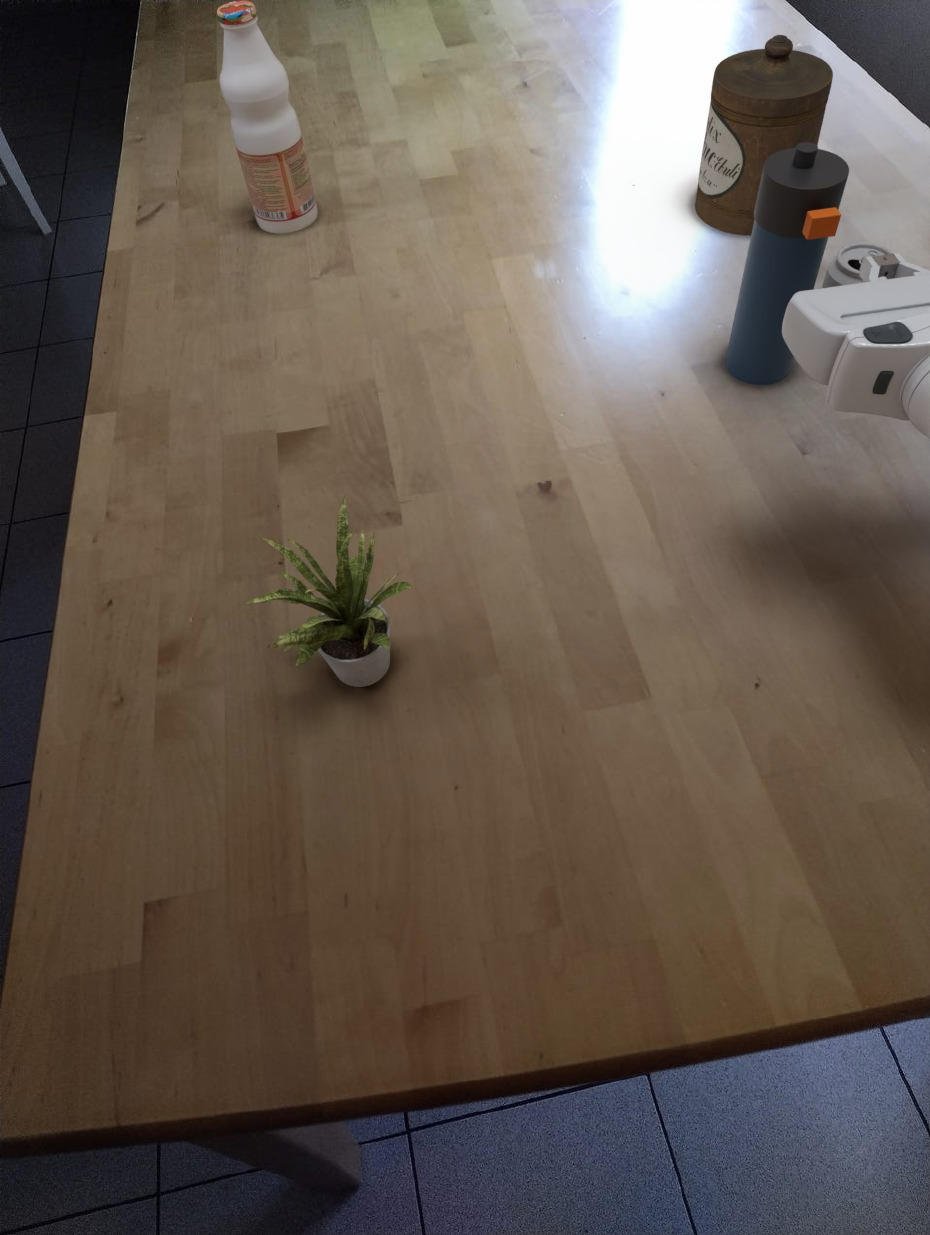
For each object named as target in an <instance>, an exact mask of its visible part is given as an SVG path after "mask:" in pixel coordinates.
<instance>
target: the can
mask: <svg viewBox="0 0 930 1235" xmlns="http://www.w3.org/2000/svg"><path fill="white" fill-rule="evenodd" d="M892 253H893V252H892V250H891V249H888V247H885V246H883V245H880V244H877V243H871V242H855V243H850V244H848V245H846V246H842V248H841V249H839V251H838V252H837V255H836V256H834V257H833V258H832V259H830V261H829V262H828V265H827V269H826V272H825V275H824V279H823V283H822V285H821V288H828V287H836V286H843V285H850V284H857V283H864V281H863V280H862V279H861V277H860V274H859V270H860V267H861V264H862V261H863V259H864V258H865V257H870V256H879V255H887V254H892Z"/></svg>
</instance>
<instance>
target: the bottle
mask: <svg viewBox="0 0 930 1235" xmlns="http://www.w3.org/2000/svg"><path fill="white" fill-rule="evenodd" d="M849 174H850V167H849V164H848V163H847V162H846V160H845V159H844V158H842V157H841V156H839V155H838V154H836V153H834V152H831V151H829V150H826V149H821V148H819V146H817V145H816V144H814V143H811V142H802V143H799V144H798V145H797V147H796V148H791V149H785V150H782V151H779V152H776V153H774V154H773V155H771V156H770V157H769V158H768V159H767V160H766V161H765V163H764V167H763V171H762V176H761V181H760V186H759V191H758V196H757V201H756V205H755V210H754V219H755V220H754V225H753V230H752V234H751V235H750V240H749V245H748V250H747V255H746V258H745V263H744V267H743V268H744V269H743V274H742V278H741V282H740V288H739V292H738V297H737V302H736V306H735V311H734V316H733V321H732V327H731V331H730V335H729V340H728V346H727V350H726V355H725V359H724V365H725V367H726V370H727V372H728V373H729V374H730V375H731V376H732V377H733V378H735V379H736V380H738V381H740V382H742V383H746V384H749V385H755V386H766V385H767V386H768V385H773V384H777V383H779V382H781V381H783V380H785V379H786V378H787V377H788V376H789V374H790V372H791V369H792V367H793V364H794V359H795V357H794V356H793V354H792V353H791V351H790V349H789V348H788V346H787V344H786V342H785V340H784V338H783V335H782V325H783V319H784V315H785V312H786V308H787V306H788V303H789V302H790V300H791V298H792V297H793V295H794V294H795V293H797V292H799V291H806V290H814V289H815V285H816V282H817V278H818V275H819V272H820V268H821V265H822V261H823V258H824V254H825V250H826V247H827V244H828V240H829V237H824V238H817V239H810V240H807V239H806V237H805V236H804V234H803V233H802V231H803V227H804V223H805V219H806V216H807V212H808V211H812V210H820V209H827V208H834V207H836V208H837V209H838V210H839V209H840V205H841V202H842V199H843V195H844V193H845V192H844V191H845V188H846V185H847V181H848V178H849Z"/></svg>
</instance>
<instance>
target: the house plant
mask: <svg viewBox="0 0 930 1235" xmlns="http://www.w3.org/2000/svg"><path fill="white" fill-rule="evenodd" d="M349 528H350V526H349V520H348V515H347V500H346V496H344V497H343V498H342V502H341V505H340V508H339V514H338V517H337V528H336V542H335V546H336V547H335V548H336V549H335V551H336V558H337V564H336V566H335V567H336V569H335V570H336V575H335V579H334V581H335V586H334V584H333V583H332V582H331V580H330V579H329V578H328V577H327V575H326V574H325V572H324V571H323V569H322V567H321V566H320V564H319V563H318V562H317V560H316V559H315V558H314V556H313V555H312V554H311V552H310V551H309V550H308V549H307V548H306V547H304V546H303V545H301V544H299V543H298V542H296V541H294V540H292V539H289V538H287V540H288V541H289V542H290V543H291V544H292V545H293V546H295V547H296V548H297V549H298V550H299V551H300V553H301V554H302V555H303V556H304V557H305V558H306V559H307V561H308V562H309V564H310V565H311V566H312V569H313V570H314V571H315V572H316V573H317V575H318V576H319V577H318V576H316V575H315V573H314V572H313V571H312V569H310V567H309V566H308V565H307V564H306V563H305V562H304V560H303V559H302V558H301V557H300V556H299V555H298V554H297V553H296V552H295V551H294V550H292V549H290V548H288V547H287V546H285V545H283V544H280V543H278V542H276V541H274V540H271V539H269V538H265V537H260V536H259V537H260V539H261V540H262V541H264V542H265V543H266V544H268V545H269V546H271V547H272V548H274V549H275V550H276V551H278V552H279V554H281V555H282V556H283V557H285V558H286V559H287V560H288V561H289V562H290V563H291V564H292V565H293V566H294V567H295V568H296V570H298V572H299V574H301V575H302V577H303V578H304V579H305V580H306V581H307V582H309V583H310V584H311V585H312V586H313V587H314V588H308V587H307V586H306V585H305V584H304V583H303V581H301V580H300V579H298V578H297V577H294V576H293V575H291V574H289V573H287V572H284V571H281V570H279V573H280V574H281V575H282V576H283V577H284V578H285V579H287V581H288V582H290V583H291V585H293V586H294V587H295V589H293V588H278V589H276V590H273V591H270V592H268V593H264V594H263V595H260V596H257V597H255V598H252V599H250V600H249V601H247V602H246V603H244V604H242V605H251V604H256V603H261V604H264V603H268V602H273V601H281V600H282V601H283V602H284V603H286V604H294V605H296V604H297V605H298V604H301V605H304V606H307V607H309V608H312V609H314V610H315V611H317V612H320V613H321V614H320V615H313V616H308V617H307V619H306V621H305V622H303V623H302V624H301V625H300V627H299V628H297V629H295V630H290V631H288V632H287V631H286V632H285V633H282V634H279V635H277V636H276V637H275V638H273V639H272V641H275V640H277V641H276V642H273V643H272V644H269V645H268V646H266V647H265V648H264V650H265V649H278V648H282V647H284V650H283V653H285V652H286V651H287V650H291V649H296V648H297V647H299V646H300V647H299V649H298V651H297V655H296V660H295V668H297V667H298V666H299V665H301V664H303V663H306V662H307V661H308V660H310V659H311V658H312V657H313V656H315V654H316V653H317V651H318V652H319V654H320V656H321V657H322V658H323V659H324V660H325V662H326V663H327V664H328V666H329V667H330V669H332V672H333V673H334V675H335V676H336V677H337V679H339V680H340V681H341V683H343V684H346V685H347V686H351V687H354V688H363V687H364V688H365V687H367V686H368V687H369V686H372V685H373V684H375V683H378V682H379V681H380V680H381V679H383V677H384V676H385V675H386V674H387V672H388V671H389V668H390V663H391V639H392V638H391V634H392V633H391V632H392V628H391V627H392V626H391V620H390V616H389V615H388V612H387V611H386V610H385V609H384V607H382V605H380V604H381V603H383V602H384V601H386V600H387V599H389V598H391V597H393V596H395V595H397V594H399V593H401V592H403V591H406V590H408V589H415V590H417V588H416V587H414V585H411V584H410V583H408V582H407V581H397V582H394V583H392V584H391V585H389V584H390V583H391V582H392V581H393V580H395V578H397V576H399V575H400V572H398V573H396V574H395V575H394V576H392V577H391V578H389V579H388V580H387V581H386V582H385V583H384V584H383V585H382V586H381V587H380V588H379V589H378V590H377V591H376V592H375V593H374V594H372V596H371V598H370V599H366V595H367V590H368V586H369V579H370V575H371V572H372V568H373V563H374V559H375V558H374V557H375V555H374V554H375V531H373V533H372V535H371V538H370V542H369V546H368V548H367V551H366V540H365V533H364V528H363V527H361V532H360V540H359V543H358V549H357V556H351V557H349V556H350V555H349V547H350V546H349V544H350V541H351V539H352V538H353V535H354V534H355V530H356V528H357V527H355V528H354V529H352V530H351V532H349V531H350V530H349ZM319 578H320V579H321V580H322V581H323V582H322V581H321V580H320V579H319ZM388 585H389V586H388ZM387 586H388V587H387ZM313 590H314V591H315V592H316V591H317V592H319V593H320V594H321V595H322V596H323V597H320V596H317V595H315V594H314V593H313V592H312V591H313ZM324 598H325V599H324ZM279 639H280V640H279Z"/></svg>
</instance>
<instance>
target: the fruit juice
mask: <svg viewBox="0 0 930 1235" xmlns="http://www.w3.org/2000/svg"><path fill="white" fill-rule="evenodd" d="M216 15H217V20H218V22H219V25H220V27H221V28H222V29H223V45H222V46H223V49H222V50H223V53H222V64H221V65H222V66H221V70H220V75H219V87H220V88H219V89H220V92H221V96H222V98H223V100H224V102H225V104H226V106H227V108H228V109H229V112H230V120H229V121H230V130H231V131H230V132H231V135H232V140H233V143H234V148H235V150H236V153H237V157H238V160H239V165H240V167H241V171H242V174H243V178H244V181H245V185H246V188H247V189H246V190H247V192H248V196H249V200H250V203H251V207H252V210H253V214H254V217H255V220H256V223H257V225H258V227H259V228H260V229H261V230H263V231H265V232H267V233H271V234H291V233H294V232H299V231H301V230H303V229H305V228H307V227H309V226H310V225H311V224H313V223H314V222H315V221H316V219H317V217H318V215H319V211H318V210H319V209H318V205H317V203H318V202H317V198H316V195H315V190H314V185H313V181H312V176H311V172H310V167H309V162H308V157H307V153H306V149H305V144H304V141H303V134H302V131H301V130H302V129H301V125H300V122H299V119H298V114H297V113H296V110H295V108H294V107H293V105H292V104H291V102H290V81H289V77H288V73H287V71H286V68H285V67H284V65H283V63H282V62H280V60H279V59H278V58H277V57H276V55H275V54H274V52H273V51H272V49H271V47H270V45H269V43H268V41H267V40H266V38H265V35H264V34H263V32H262V31H261V29H260V27H259V26H258V23H257V22H258V19H259V18H258V12H257V8H256V6H255V4H254V2H252V1H249V0H234V1H230V2H226V3H224V4H222V5H220V6H219V7H218V8H217V10H216Z"/></svg>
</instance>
